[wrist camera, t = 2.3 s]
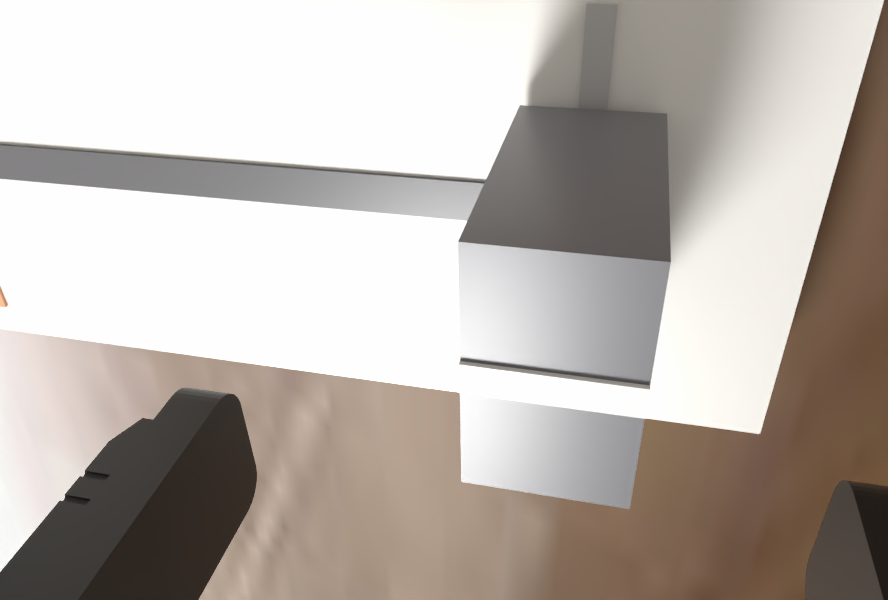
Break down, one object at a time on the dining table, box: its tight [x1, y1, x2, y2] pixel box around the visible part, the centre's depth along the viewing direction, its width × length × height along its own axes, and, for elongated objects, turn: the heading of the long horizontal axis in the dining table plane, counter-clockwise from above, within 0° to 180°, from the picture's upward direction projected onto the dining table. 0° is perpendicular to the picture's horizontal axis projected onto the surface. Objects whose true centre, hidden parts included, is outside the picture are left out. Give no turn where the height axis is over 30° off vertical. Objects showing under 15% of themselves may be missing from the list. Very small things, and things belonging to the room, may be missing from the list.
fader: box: [458, 105, 671, 509], centre depth 14 cm, size 3×5×6 cm, turn 2°
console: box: [0, 0, 884, 434], centre depth 20 cm, size 30×12×3 cm, turn 92°
